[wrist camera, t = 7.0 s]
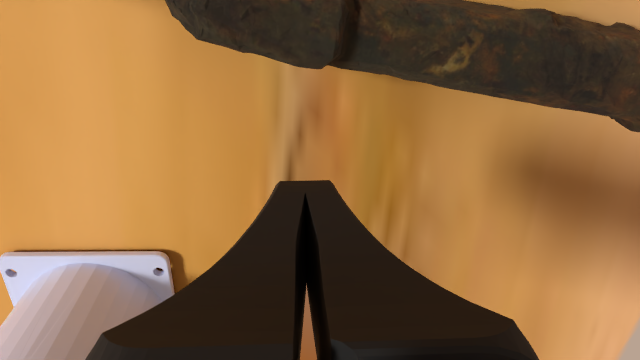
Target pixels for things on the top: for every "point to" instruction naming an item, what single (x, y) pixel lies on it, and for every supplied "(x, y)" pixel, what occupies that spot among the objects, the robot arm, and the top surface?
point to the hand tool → (439, 46)
